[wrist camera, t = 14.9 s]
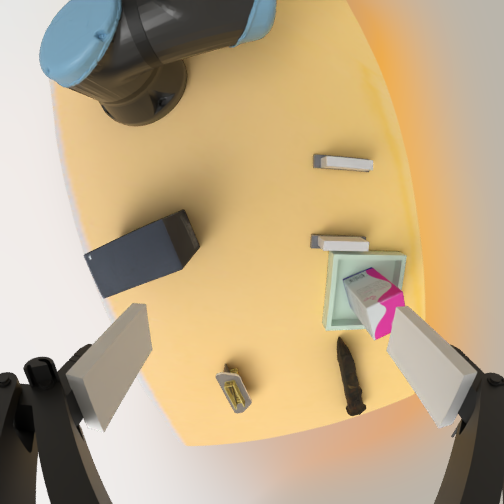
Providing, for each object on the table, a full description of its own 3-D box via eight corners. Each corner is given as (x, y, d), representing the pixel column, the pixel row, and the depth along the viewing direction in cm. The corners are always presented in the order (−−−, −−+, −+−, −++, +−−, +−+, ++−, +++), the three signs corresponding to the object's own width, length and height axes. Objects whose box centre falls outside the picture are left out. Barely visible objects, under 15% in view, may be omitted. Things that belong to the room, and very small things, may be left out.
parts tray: (329, 249, 45) (333, 254, 42) (398, 251, 45) (406, 255, 42) (322, 322, 48) (325, 330, 45) (387, 319, 48) (394, 326, 45)
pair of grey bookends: (313, 155, 42) (319, 151, 37) (367, 159, 42) (379, 157, 37) (310, 247, 45) (316, 254, 41) (363, 248, 45) (373, 255, 41)
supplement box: (350, 309, 47) (373, 342, 36) (341, 278, 46) (364, 306, 35) (380, 296, 46) (409, 325, 35) (372, 265, 45) (403, 289, 34)
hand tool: (362, 400, 53) (368, 414, 48) (345, 406, 53) (350, 421, 49) (352, 330, 49) (360, 343, 44) (331, 337, 49) (337, 350, 45)
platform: (252, 330, 49) (251, 350, 43) (280, 401, 53) (282, 423, 47) (189, 346, 50) (181, 367, 44) (225, 413, 54) (222, 435, 48)
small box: (134, 274, 47) (101, 300, 35) (118, 238, 46) (81, 254, 34) (201, 248, 46) (183, 269, 34) (185, 208, 44) (161, 216, 33)
